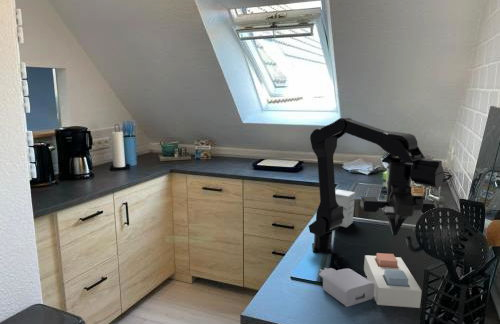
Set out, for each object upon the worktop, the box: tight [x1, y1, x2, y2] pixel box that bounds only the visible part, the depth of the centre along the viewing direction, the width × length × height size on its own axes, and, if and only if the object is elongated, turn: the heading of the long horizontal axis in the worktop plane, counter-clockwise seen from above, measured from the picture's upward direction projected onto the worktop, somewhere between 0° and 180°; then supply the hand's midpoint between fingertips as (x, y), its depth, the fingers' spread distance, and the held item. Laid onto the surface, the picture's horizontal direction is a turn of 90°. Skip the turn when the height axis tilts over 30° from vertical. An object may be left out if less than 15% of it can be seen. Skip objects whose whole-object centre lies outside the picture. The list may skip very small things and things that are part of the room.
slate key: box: [384, 269, 408, 287], centre depth 95 cm, size 5×5×4 cm
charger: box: [318, 267, 375, 308], centre depth 99 cm, size 5×9×15 cm
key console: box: [363, 254, 423, 309], centre depth 101 cm, size 18×10×4 cm, turn 173°
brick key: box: [375, 252, 398, 268], centre depth 105 cm, size 5×5×4 cm
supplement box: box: [335, 189, 356, 228], centre depth 147 cm, size 7×7×13 cm
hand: (394, 235), depth 105 cm, fingers closed
